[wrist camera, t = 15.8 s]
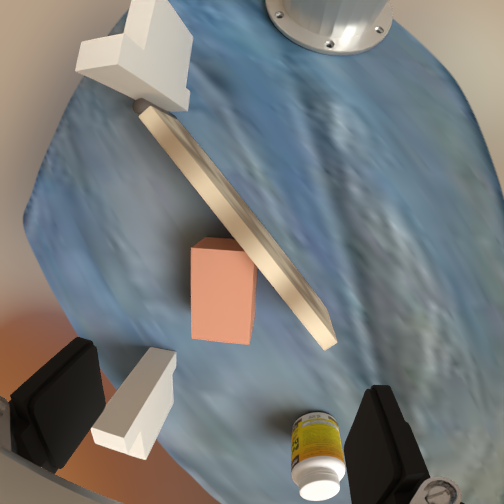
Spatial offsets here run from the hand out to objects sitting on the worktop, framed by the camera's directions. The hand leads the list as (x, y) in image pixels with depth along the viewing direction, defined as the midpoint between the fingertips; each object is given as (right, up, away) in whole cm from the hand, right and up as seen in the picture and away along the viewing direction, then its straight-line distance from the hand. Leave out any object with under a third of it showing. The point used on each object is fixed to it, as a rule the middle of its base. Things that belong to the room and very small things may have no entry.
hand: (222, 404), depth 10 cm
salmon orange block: (-1, +2, +21) cm, 21 cm away
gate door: (0, +8, +19) cm, 21 cm away
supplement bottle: (+8, -16, +24) cm, 30 cm away
